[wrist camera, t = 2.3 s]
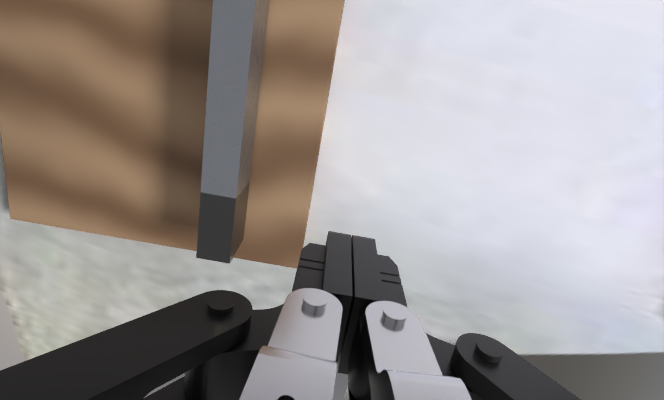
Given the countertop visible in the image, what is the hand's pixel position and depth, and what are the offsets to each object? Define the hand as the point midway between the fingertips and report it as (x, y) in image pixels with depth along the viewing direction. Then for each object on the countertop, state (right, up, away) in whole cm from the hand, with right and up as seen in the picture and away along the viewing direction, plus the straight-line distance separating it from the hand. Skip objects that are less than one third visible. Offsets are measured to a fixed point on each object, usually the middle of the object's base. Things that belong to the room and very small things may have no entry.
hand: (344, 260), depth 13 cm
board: (-12, +14, +16) cm, 24 cm away
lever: (-6, +12, +14) cm, 20 cm away
